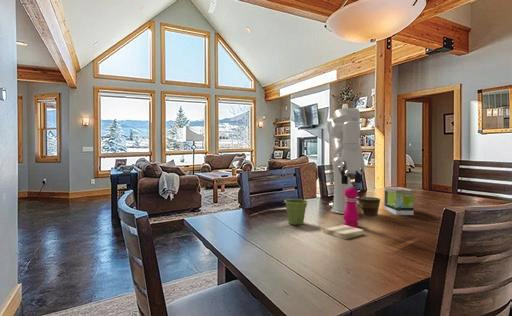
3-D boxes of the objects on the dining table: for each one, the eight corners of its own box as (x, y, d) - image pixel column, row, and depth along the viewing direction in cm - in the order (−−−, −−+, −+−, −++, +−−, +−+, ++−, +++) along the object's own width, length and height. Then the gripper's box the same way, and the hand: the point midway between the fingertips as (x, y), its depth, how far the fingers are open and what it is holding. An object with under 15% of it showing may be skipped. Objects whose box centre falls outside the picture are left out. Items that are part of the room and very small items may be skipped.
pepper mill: (348, 228, 131) (348, 185, 130) (340, 224, 138) (340, 183, 137) (362, 227, 133) (362, 185, 132) (353, 223, 140) (353, 183, 139)
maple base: (323, 232, 125) (323, 227, 125) (341, 228, 131) (341, 224, 131) (345, 239, 115) (345, 234, 115) (363, 234, 121) (363, 229, 121)
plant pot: (307, 227, 134) (307, 203, 134) (283, 225, 137) (282, 202, 136) (308, 221, 146) (308, 199, 146) (285, 220, 148) (285, 198, 148)
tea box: (414, 217, 153) (414, 190, 153) (395, 217, 154) (395, 190, 153) (400, 211, 168) (401, 186, 168) (383, 211, 169) (383, 186, 168)
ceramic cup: (376, 214, 159) (376, 197, 159) (382, 218, 150) (382, 200, 149) (353, 214, 161) (353, 196, 161) (357, 218, 151) (357, 199, 151)
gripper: (356, 148, 142) (356, 182, 142) (332, 147, 133) (332, 183, 133) (369, 147, 136) (369, 183, 136) (345, 146, 126) (345, 185, 126)
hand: (351, 183), depth 134 cm, fingers open, 9 cm apart
